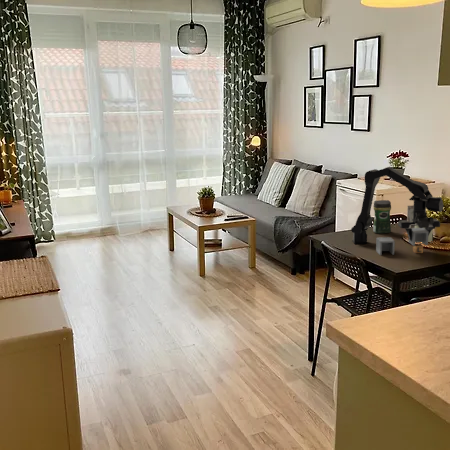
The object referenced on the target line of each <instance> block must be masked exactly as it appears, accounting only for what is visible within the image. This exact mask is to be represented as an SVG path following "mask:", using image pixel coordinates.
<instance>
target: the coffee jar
mask: <svg viewBox="0 0 450 450" xmlns="http://www.w3.org/2000/svg"><path fill="white" fill-rule="evenodd" d="M373 201H374V202H373V208H372V209H373V211H374V215H373V224H372V225H373V226H372V231H373V233H375V234H390V233H391V231H392V225H391V215H390V214H391V210H392V204H391V203H392V202H391V201H390V200H388V199H385V200H373Z"/></svg>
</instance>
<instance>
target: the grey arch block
mask: <svg viewBox="0 0 450 450" xmlns="http://www.w3.org/2000/svg"><path fill="white" fill-rule="evenodd" d="M411 232H412V240H411V241H410V239H409V238H408V243H409V244H410V245H412V247H413V246H415V244H416V243H417V242H422V243H421V244H423V245H425V246H429V243H428V231H427V230H426V229H424V228H412V231H411Z"/></svg>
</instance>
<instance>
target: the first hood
mask: <svg viewBox="0 0 450 450" xmlns="http://www.w3.org/2000/svg"><path fill="white" fill-rule="evenodd" d="M375 244H376V245H375V252H376V253H377V254H378V255H379V256H382V255H383V254H382V253H383V252H389V253H390V254H392V256H393V255H395V244H396V243H395V239H393V238H392V237H390V236H389V237H388V236H386V237H385V236H384V237H376V242H375Z"/></svg>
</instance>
